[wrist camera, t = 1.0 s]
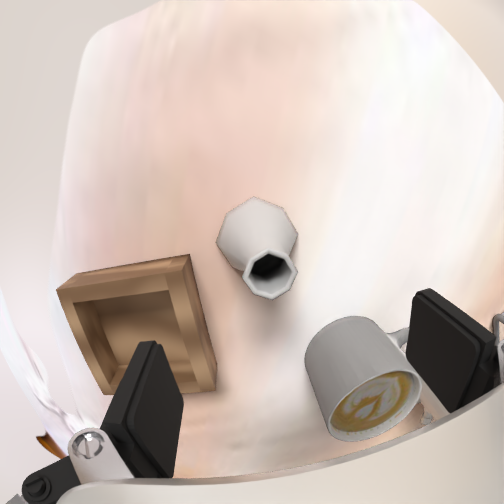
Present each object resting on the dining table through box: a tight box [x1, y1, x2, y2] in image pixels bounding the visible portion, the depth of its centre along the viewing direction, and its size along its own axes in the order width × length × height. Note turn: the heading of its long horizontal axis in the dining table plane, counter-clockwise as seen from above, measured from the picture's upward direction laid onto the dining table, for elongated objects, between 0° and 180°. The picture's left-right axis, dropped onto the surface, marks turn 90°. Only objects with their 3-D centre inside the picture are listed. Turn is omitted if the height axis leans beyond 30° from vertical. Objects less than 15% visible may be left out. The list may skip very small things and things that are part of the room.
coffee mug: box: [305, 316, 422, 442], centre depth 27 cm, size 13×10×10 cm
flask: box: [216, 196, 298, 300], centre depth 22 cm, size 7×7×10 cm
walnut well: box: [56, 254, 217, 395], centre depth 27 cm, size 13×13×4 cm
